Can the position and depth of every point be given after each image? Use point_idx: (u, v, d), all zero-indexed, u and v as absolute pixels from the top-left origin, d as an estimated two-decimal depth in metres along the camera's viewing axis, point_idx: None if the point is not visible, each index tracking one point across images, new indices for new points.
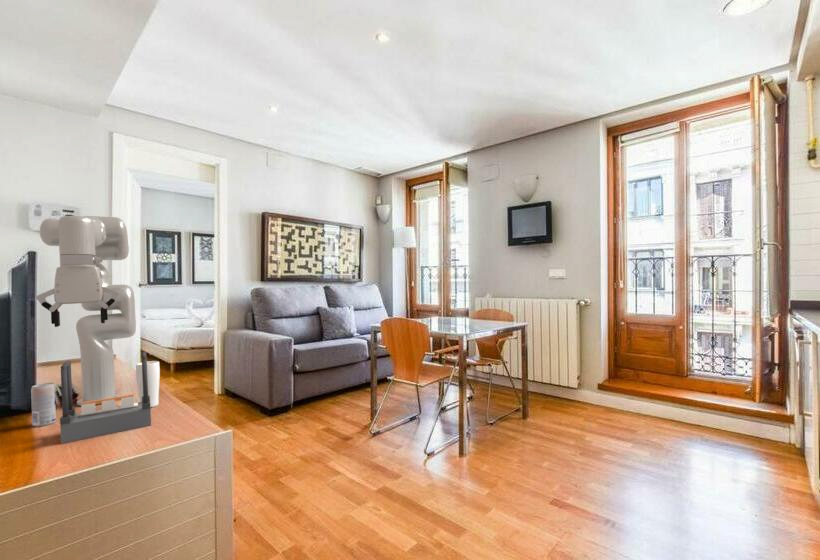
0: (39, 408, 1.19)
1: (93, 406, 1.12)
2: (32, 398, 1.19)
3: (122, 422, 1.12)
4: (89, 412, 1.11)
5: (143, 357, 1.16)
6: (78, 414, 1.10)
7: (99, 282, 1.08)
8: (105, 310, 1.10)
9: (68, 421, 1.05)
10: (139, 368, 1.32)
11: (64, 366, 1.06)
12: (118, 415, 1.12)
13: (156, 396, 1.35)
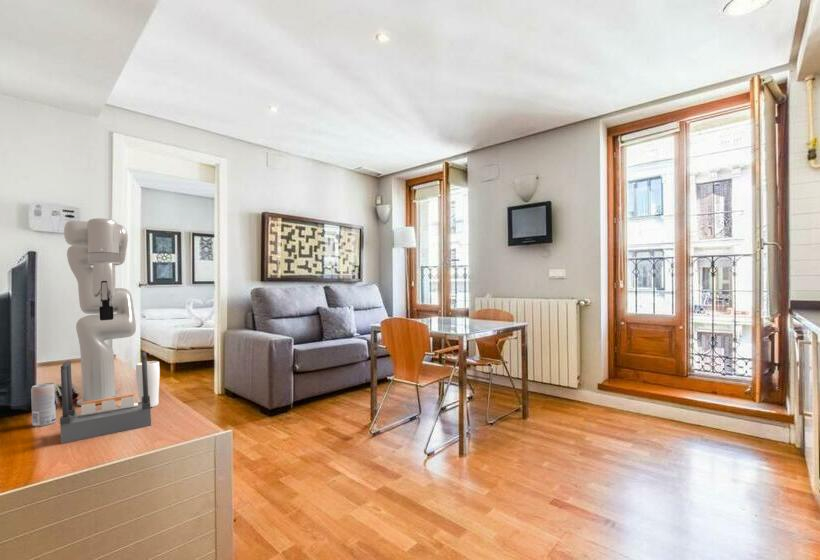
0: (39, 408, 1.19)
1: (93, 406, 1.12)
2: (32, 398, 1.19)
3: (122, 422, 1.12)
4: (89, 412, 1.11)
5: (143, 357, 1.16)
6: (78, 414, 1.10)
7: None
8: None
9: (68, 421, 1.05)
10: (139, 368, 1.32)
11: (64, 366, 1.06)
12: (118, 415, 1.12)
13: (156, 396, 1.35)
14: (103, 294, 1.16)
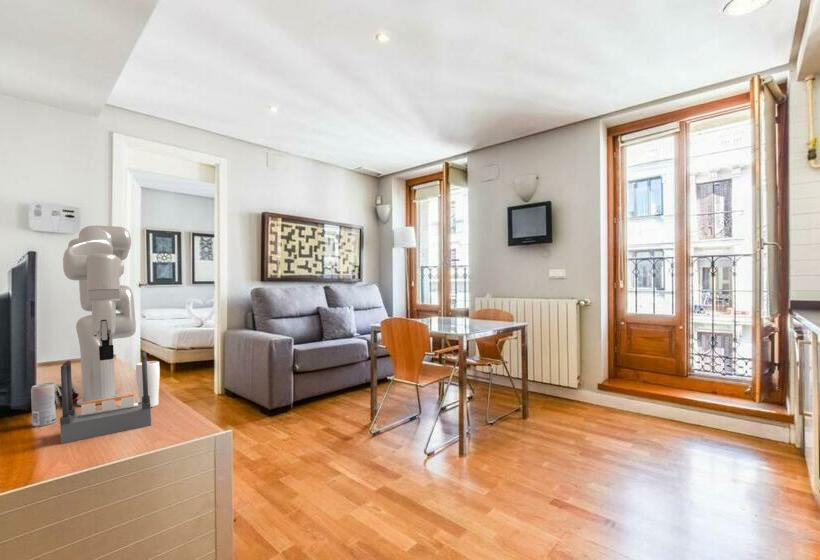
0: (39, 408, 1.19)
1: (93, 406, 1.12)
2: (32, 398, 1.19)
3: (122, 422, 1.12)
4: (89, 412, 1.11)
5: (143, 357, 1.16)
6: (78, 414, 1.10)
7: None
8: None
9: (68, 421, 1.05)
10: (139, 368, 1.32)
11: (64, 366, 1.06)
12: (118, 415, 1.12)
13: (156, 396, 1.35)
14: (103, 334, 1.10)
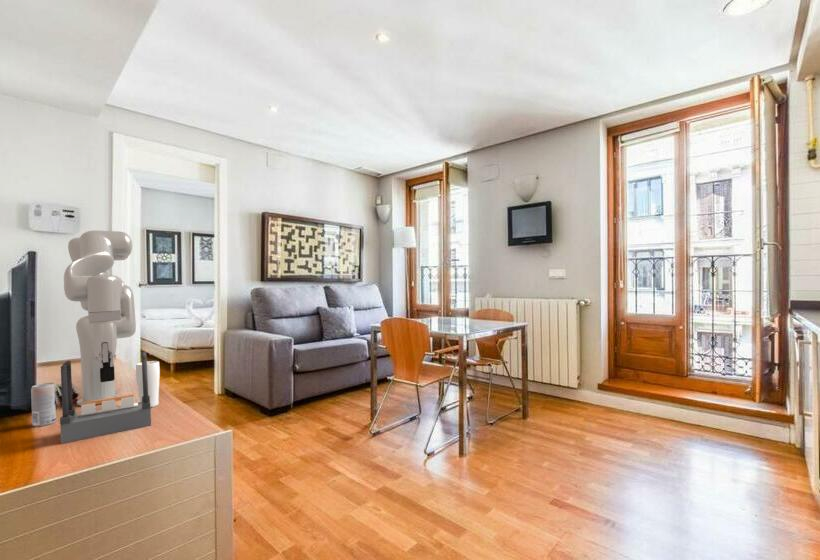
0: (39, 408, 1.19)
1: (93, 406, 1.12)
2: (32, 398, 1.19)
3: (122, 422, 1.12)
4: (89, 412, 1.11)
5: (143, 357, 1.16)
6: (78, 414, 1.10)
7: None
8: None
9: (68, 421, 1.05)
10: (139, 368, 1.32)
11: (64, 366, 1.06)
12: (118, 415, 1.12)
13: (156, 396, 1.35)
14: (104, 356, 1.10)
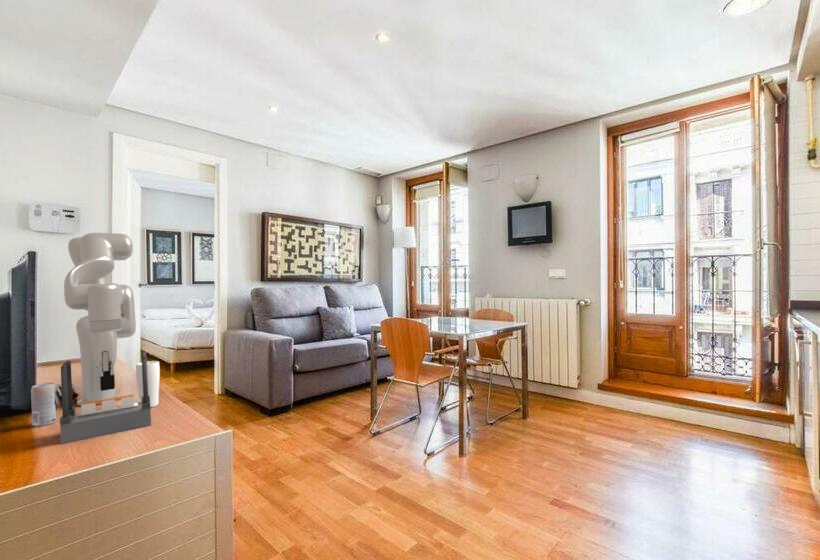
0: (39, 408, 1.19)
1: (93, 406, 1.12)
2: (32, 398, 1.19)
3: (122, 422, 1.12)
4: (89, 412, 1.11)
5: (143, 357, 1.16)
6: (78, 414, 1.10)
7: None
8: None
9: (68, 421, 1.05)
10: (139, 368, 1.32)
11: (64, 366, 1.06)
12: (118, 415, 1.12)
13: (156, 396, 1.35)
14: (104, 365, 1.10)
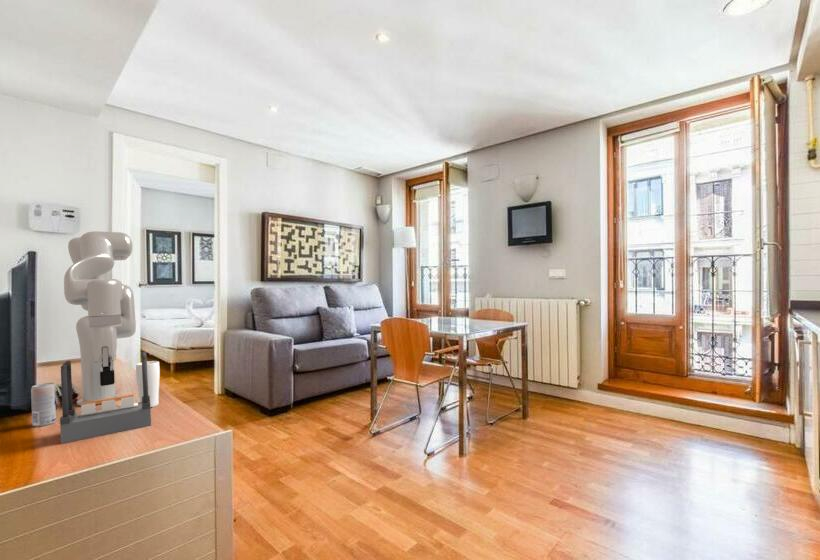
0: (39, 408, 1.19)
1: (93, 406, 1.12)
2: (32, 398, 1.19)
3: (122, 422, 1.12)
4: (89, 412, 1.11)
5: (143, 357, 1.16)
6: (78, 414, 1.10)
7: None
8: None
9: (68, 421, 1.05)
10: (139, 368, 1.32)
11: (64, 366, 1.06)
12: (118, 415, 1.12)
13: (156, 396, 1.35)
14: (104, 360, 1.10)
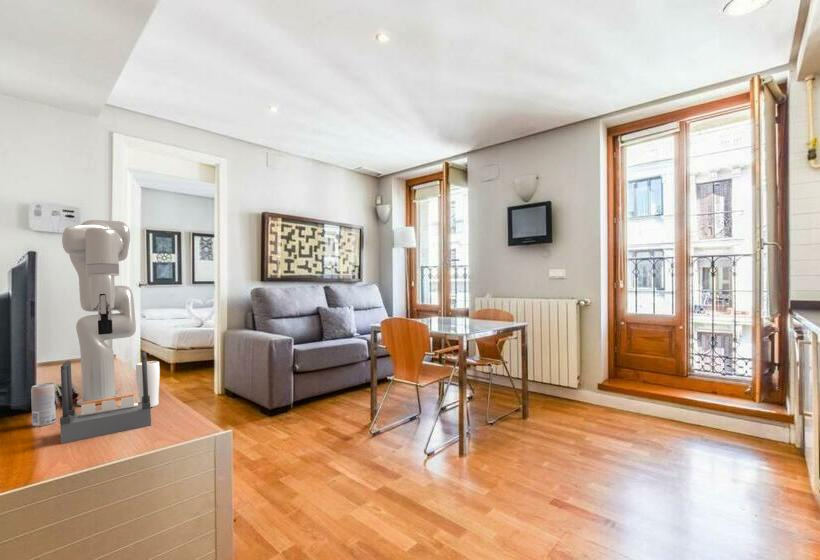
0: (39, 408, 1.19)
1: (93, 406, 1.12)
2: (32, 398, 1.19)
3: (122, 422, 1.12)
4: (89, 412, 1.11)
5: (143, 357, 1.16)
6: (78, 414, 1.10)
7: None
8: None
9: (68, 421, 1.05)
10: (139, 369, 1.32)
11: (64, 366, 1.06)
12: (118, 415, 1.12)
13: (156, 396, 1.35)
14: (102, 308, 1.10)
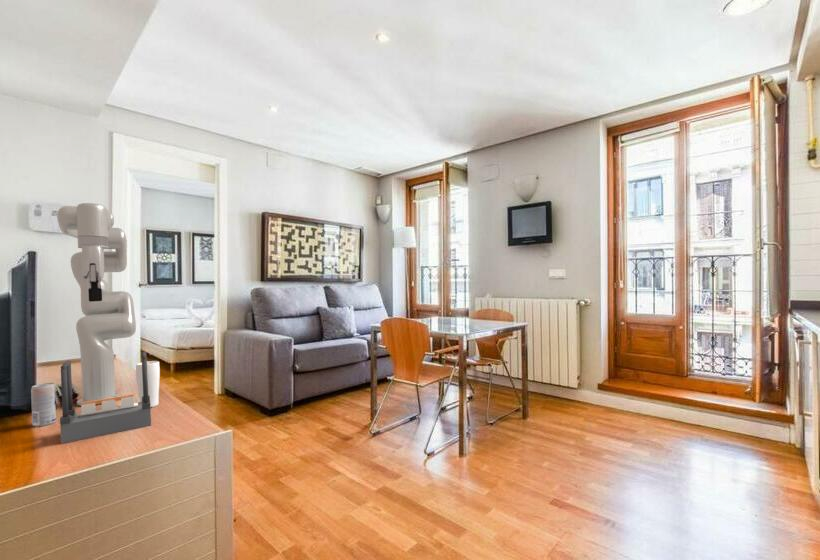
0: (39, 408, 1.19)
1: (93, 406, 1.12)
2: (32, 398, 1.19)
3: (122, 422, 1.12)
4: (89, 412, 1.11)
5: (143, 357, 1.16)
6: (78, 414, 1.10)
7: None
8: None
9: (68, 421, 1.05)
10: (139, 368, 1.32)
11: (64, 366, 1.06)
12: (118, 415, 1.12)
13: (156, 396, 1.35)
14: (91, 276, 1.20)
